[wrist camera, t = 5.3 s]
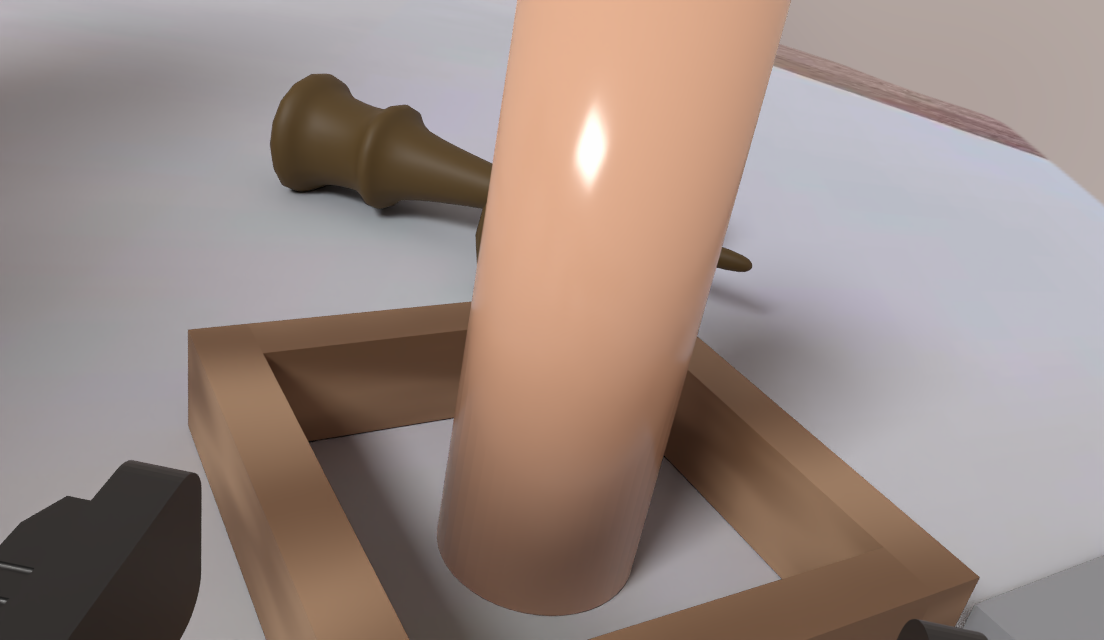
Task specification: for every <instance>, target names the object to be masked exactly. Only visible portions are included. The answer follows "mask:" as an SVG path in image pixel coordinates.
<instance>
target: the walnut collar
mask: <svg viewBox="0 0 1104 640" xmlns="http://www.w3.org/2000/svg"><path fill="white" fill-rule="evenodd" d="M471 303H472V302H463V303H453V304H443V305H433V306H423V307H413V308H403V309H392V310H382V311H372V312H362V313H352V314H342V315H332V316H322V317H312V318H302V319H292V320H282V321H272V322H262V323H252V324H241V325H231V326H221V327H211V328H201V329H191V330H188V426H189V429H190V432H191V434H192V437H193V440H194V443H195V445H196V448H197V451H198V454H199V456H200V459H201V462H202V465H203V467H204V470H205V473H206V476H207V478H208V481H209V484H210V487H211V489H212V492H213V495H214V498H215V500H216V503H217V506H218V509H219V511H220V514H221V517H222V520H223V522H224V525H225V528H226V531H227V533H228V536H229V539H230V541H231V544H232V547H233V550H234V552H235V555H236V558H237V561H238V563H239V566H240V569H241V572H242V574H243V577H244V580H245V583H246V585H247V588H248V591H249V594H250V596H251V599H252V602H253V605H254V607H255V610H256V613H257V616H258V618H259V621H260V624H261V627H262V629H263V632H264V635H265V638H266V640H409V638H408V636H407V634H406V632H405V630H404V628H403V626H402V624H401V622H400V620H399V618H398V616H397V614H396V612H395V610H394V609H393V607H392V605H391V603H390V601H389V599H388V597H387V595H386V593H385V591H384V589H383V587H382V585H381V583H380V581H379V579H378V577H377V575H376V573H375V571H374V569H373V567H372V566H371V564H370V562H369V560H368V558H367V556H366V554H365V552H364V550H363V548H362V546H361V544H360V542H359V540H358V538H357V536H356V534H355V532H354V530H353V528H352V526H351V524H350V523H349V521H348V519H347V517H346V515H345V513H344V511H343V509H342V507H341V505H340V503H339V501H338V499H337V497H336V495H335V493H334V491H333V489H332V487H331V485H330V483H329V481H328V480H327V478H326V476H325V474H324V472H323V470H322V468H321V466H320V464H319V462H318V460H317V458H316V456H315V454H314V452H313V450H312V448H311V446H310V444H309V442H308V441H313V440H319V439H325V438H331V437H338V436H344V435H350V434H356V433H362V432H368V431H374V430H380V429H386V428H393V427H399V426H405V425H411V424H417V423H423V422H429V421H435V420H442V419H448V418H454V415H455V408H456V402H457V395H458V389H459V382H460V375H461V369H462V362H463V356H464V349H465V342H466V336H467V329H468V323H469V316H470V309H471ZM664 456H665V457H666V458H667V459H668V460H669V461H670V462H671V463H672V464H673V465H674V466H675V467H676V468H677V469H678V470H679V471H680V472H681V474H682V475H683V476H684V477H685V478H686V479H687V480H688V481H689V482H690V483H691V484H692V485H693V486H694V487H695V488H696V489H697V490H698V491H699V492H700V493H701V495H702V496H703V497H704V498H705V499H706V500H707V501H708V502H709V503H710V504H711V505H712V506H713V507H714V508H715V509H716V510H717V511H718V512H719V513H720V514H721V515H722V517H723V518H724V519H725V520H726V521H727V522H728V523H729V524H730V525H731V526H732V527H733V528H734V529H735V530H736V531H737V532H738V533H739V534H740V535H741V536H742V537H743V539H744V540H745V541H746V542H747V543H748V544H749V545H750V546H751V547H752V548H753V549H754V550H755V551H756V552H757V553H758V554H759V555H760V556H761V557H762V558H763V559H764V561H765V562H766V563H767V564H768V565H769V566H770V567H771V568H772V569H773V570H774V571H775V572H776V573H777V574H778V575H779V576H780V577H781V578H782V579H781V580H778V581H774V582H771V583H768V584H765V585H762V586H758V587H755V588H752V589H749V590H746V591H742V592H739V593H736V594H733V595H729V596H726V597H723V598H720V599H717V600H713V601H710V602H707V603H704V604H701V605H697V606H694V607H691V608H688V609H685V610H681V611H678V612H675V613H672V614H669V615H665V616H662V617H659V618H656V619H653V620H649V621H646V622H643V623H640V624H637V625H633V626H630V627H627V628H624V629H620V630H617V631H614V632H611V633H608V634H604V635H601V636H598V637H595V638H592V639H588V640H897V638H898V636H899V634H900V632H901V630H902V628H903V627H904V625H905V624H906V623H907V622H908V621H909V620H911V619H919V620H923V621H928V622H933V623H938V624H943V625H948V626H953V627H955V625H956V623H957V621H958V619H959V617H960V615H961V613H962V611H963V609H964V607H965V605H966V604H967V602H968V600H969V598H970V596H971V594H972V592H973V590H974V588H975V586H976V584H977V582H978V580H979V578H980V577H979V576H978V575H976V574H975V573H974V572H973V571H972V570H971V569H969V568H968V567H967V566H966V565H965V564H964V563H962V562H961V561H960V560H959V559H958V558H956V557H955V556H954V555H953V554H952V553H951V552H949V551H948V550H947V549H946V548H945V547H944V546H942V545H941V544H940V543H939V542H938V541H937V540H935V539H934V538H933V537H932V536H931V535H930V534H928V533H927V532H926V531H925V530H924V529H922V528H921V527H920V526H919V525H918V524H917V523H915V522H914V521H913V520H912V519H911V518H910V517H908V516H907V515H906V514H905V513H904V512H903V511H901V510H900V509H899V508H898V507H897V506H895V505H894V504H893V503H892V502H891V501H890V500H888V499H887V498H886V497H885V496H884V495H883V494H881V493H880V492H879V491H878V490H877V489H876V488H874V487H873V486H872V485H871V484H870V483H869V482H867V481H866V480H865V479H864V478H863V477H861V476H860V475H859V474H858V473H857V472H856V471H854V470H853V469H852V468H851V467H850V466H849V465H847V464H846V463H845V462H844V461H843V460H842V459H840V458H839V457H838V456H837V455H836V454H835V453H833V452H832V451H831V450H830V449H829V448H827V447H826V446H825V445H824V444H823V443H822V442H820V441H819V440H818V439H817V438H816V437H815V436H813V435H812V434H811V433H810V432H809V431H808V430H806V429H805V428H804V427H803V426H802V425H801V424H799V423H798V422H797V421H796V420H795V419H793V418H792V417H791V416H790V415H789V414H788V413H786V412H785V411H784V410H783V409H782V408H781V407H779V406H778V405H777V404H776V403H775V402H774V401H772V400H771V399H770V398H769V397H768V396H766V395H765V394H764V393H763V392H762V391H761V390H759V389H758V388H757V387H756V386H755V385H754V384H752V383H751V382H750V381H749V380H748V379H747V378H745V377H744V376H743V375H742V374H741V373H740V372H738V371H737V370H736V369H735V368H734V367H732V366H731V365H730V364H729V363H728V362H727V361H725V360H724V359H723V358H722V357H721V356H720V355H718V354H717V353H716V352H715V351H714V350H713V349H711V348H710V347H709V346H708V345H707V344H706V343H704V342H703V341H702V340H701V339H700V338H698V337H697V338H696V342H695V345H694V349H693V352H692V356H691V360H690V363H689V367H688V370H687V374H686V377H685V381H684V384H683V388H682V392H681V395H680V399H679V402H678V406H677V409H676V413H675V417H674V420H673V424H672V427H671V431H670V434H669V438H668V442H667V445H666V449H665V452H664Z"/></svg>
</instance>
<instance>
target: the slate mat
mask: <svg viewBox="0 0 1104 640" xmlns="http://www.w3.org/2000/svg"><path fill="white" fill-rule="evenodd" d="M963 629H967V630H972V631H977V632H980V633H983V634H984V635H985V636H986V637H987V639H988V640H1104V555H1103V556H1101V557H1098V558H1096V559H1093V560H1090V561H1088V562H1085V563H1082V564H1080V565H1077V566H1074V567H1072V568H1069V569H1067V570H1064V571H1061V572H1059V573H1056V574H1053V575H1051V576H1048V577H1046V578H1043V579H1040V580H1038V581H1035V582H1032V583H1030V584H1027V585H1024V586H1022V587H1019V588H1017V589H1014V590H1011V591H1009V592H1006V593H1003V594H1001V595H998V596H995V597H993V598H990V599H988V600H985V601H982V602H980V603H977V604H975V605H974V607H973V609H972V611H971V613H970V615H969V617H968V619H967V621H966V623H965V625H964V627H963Z"/></svg>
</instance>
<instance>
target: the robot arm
mask: <svg viewBox="0 0 1104 640" xmlns="http://www.w3.org/2000/svg"><path fill="white" fill-rule="evenodd" d="M200 580H201V481H200V478H199V476H198V475H197V474H196V473H192V472H187V471H182V470H177V469H173V468H168V467H163V466H158V465H153V464H148V463H143V462H139V461H134V460H129V461H127V462H125V463H123V464H122V465H121V466H120V467H119V468H118V469H117V470H116V471H115V473H114V474H113V475H112V476H111V477H110V479H109V480H108V481H107V482H106V483H105V485H104V486H103V487H102V488H101V489H100V491H99V492H98V493H97V494H96V495H95V496H94V498H93V499H92V500H91V501H90V500H85V499H80V498H75V497H70V496H66V497H64V498H63V499H61V500H59V501H57V502H56V503H54V504H52V505H50V506H49V507H47V508H45V509H43V510H42V511H40V512H38V513H36V514H35V515H33V516H31V517H30V518H28V519H26V520H24V521H23V522H21V523H20V524H19V525H18V526H17V527H16V528H15V529H14V530H13V532H12V533H11V534H10V535H9V536H8V537H7V538H6V539H5V540H4V541H3V543H2V544H1V545H0V640H180V638H181V637H182V635H183V633H184V631H185V629H186V627H187V625H188V623H189V621H190V618H191V616H192V613H193V610H194V607H195V604H196V600H197V596H198V592H199V587H200ZM897 640H988V639H987V637H986V636H985V635H984V634H983V633H980V632H977V631H972V630H967V629H962V628H958V627H953V626H948V625H943V624H938V623H933V622H928V621H923V620H919V619H911V620H909V621H908V622H907V623H906V624H905V625H904V627H903V628H902V630H901V632H900V634H899V636H898V638H897Z"/></svg>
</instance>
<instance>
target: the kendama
mask: <svg viewBox="0 0 1104 640" xmlns="http://www.w3.org/2000/svg"><path fill="white" fill-rule="evenodd" d="M270 148H271V155H272V162H273V167H274V170H275V172H276V174H277V176H278V178H279V180H280V182H281V184H282V185H283V186H286V187H288V188H290V189H293V190H295V191H298V192H305V191H309V190H313V189H317V188H321V187H323V186H325V185H336V186H342V187H346V188H350V189H353V190H356V191H357V192H358V193H359V194H360V195H361V197H362V198H363V200H364V202H365V203H366V204H367V205H370V206H372V207H374V208H377V209H382V208H386V207H389V206H393V205H395V204H396V203H398V202H399V201H401V200H420V201H432V202H441V203H448V204H455V205H462V206H469V207H475V208H482V209H483V210H482V214H481V217H480V221H479V224H478V228H477V231H476V254H477V263H478V257H479V250H480V243H481V237H482V230H483V224H484V217H485V211H486V204H487V197H488V191H489V184H490V178H491V171H492V163H490V162H488V161H486V160H483V159H481V158H479V157H477V156H475V155H473V154H471V153H469V152H467V151H465V150H463V149H461V148H459V147H457V146H455V145H453V144H451V143H449V142H447V141H445V140H443V139H442V138H440V137H438V136H436V135H435V134H433V133H432V132H430V131H429V130H428V129H427V128H426V127H425V125H424V123H423V120H422V117H421V114H420V113H419V112H418V111H416V110H414V109H413V108H411V107H410V106H408V105H398V106H390V107H388V108H386V109H381V108H377V107H373V106H371V105H368V104H365V103H363V102H361V101H359V100H357V99H355V98H354V97H353V96H352V94H351V93H350V91H349V88H348V87H347V85H346V84H344V83H343V82H342V81H340V80H339V79H337V78H336V77H334V76H333V75H331V74H311V75H309V76H307V77H306V78H304V79H302V80H300V81H299V82H297V83H295V84H294V85H293V86H292V87H291V89H290V90H289V91H288V93H287V94H286V95H285V96H284V98H283V99H282V100H281V102H280V104H279V107H278V110H277V112H276V115H275V118H274V120H273V124H272V132H271V140H270ZM716 268H721V269H725V270H731V271H737V272H746V271H749V270H750V269H751V268H752V263H751V261H750V260H749V259H747V258H746V257H744V256H743V255H740V254H738V253H736V252H734V251H732V250H729V249H726V248H724V247H722V249H721V253H720V256H719V260H718V263H717V267H716Z"/></svg>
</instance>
